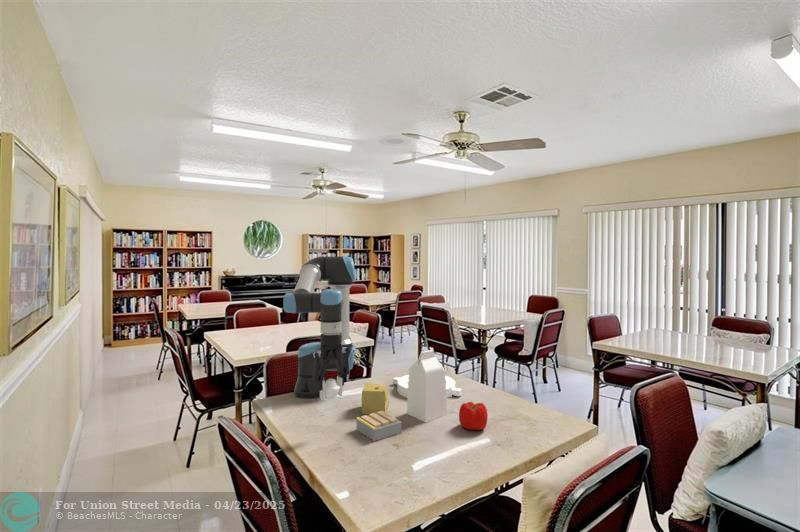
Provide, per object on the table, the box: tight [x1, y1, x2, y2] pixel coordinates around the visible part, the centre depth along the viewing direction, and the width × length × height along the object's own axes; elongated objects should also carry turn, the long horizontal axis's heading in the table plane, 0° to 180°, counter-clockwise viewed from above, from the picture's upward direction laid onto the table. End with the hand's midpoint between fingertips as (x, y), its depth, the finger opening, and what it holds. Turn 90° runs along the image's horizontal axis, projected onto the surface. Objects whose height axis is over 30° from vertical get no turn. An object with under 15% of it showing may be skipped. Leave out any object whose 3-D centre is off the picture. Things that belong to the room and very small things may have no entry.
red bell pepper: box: [458, 401, 489, 431], centre depth 152 cm, size 11×12×9 cm
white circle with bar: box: [392, 374, 463, 399], centre depth 194 cm, size 28×28×5 cm
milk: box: [406, 349, 448, 423], centre depth 164 cm, size 12×12×26 cm
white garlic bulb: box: [325, 378, 340, 400], centre depth 144 cm, size 6×6×7 cm
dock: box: [356, 411, 402, 442], centre depth 148 cm, size 12×12×5 cm
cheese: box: [361, 382, 390, 415], centre depth 168 cm, size 10×11×10 cm
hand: (331, 396), depth 144 cm, fingers closed on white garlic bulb, 6 cm apart
